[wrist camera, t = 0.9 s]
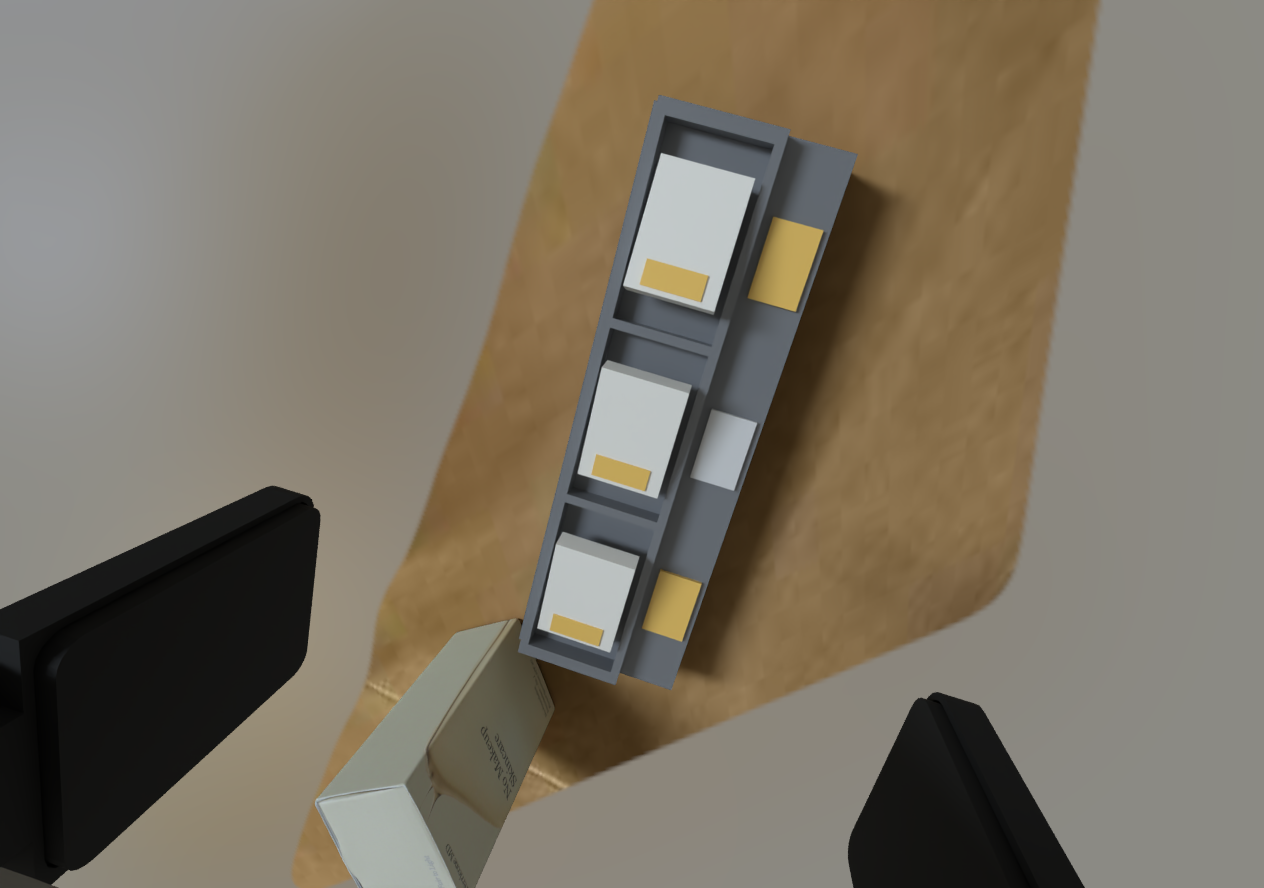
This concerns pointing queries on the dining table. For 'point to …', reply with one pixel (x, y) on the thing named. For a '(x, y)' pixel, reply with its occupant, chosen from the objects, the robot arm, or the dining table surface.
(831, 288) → the dining table surface
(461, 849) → the skincare box
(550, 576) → the block
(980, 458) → the dining table surface
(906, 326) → the dining table surface
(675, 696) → the dining table surface
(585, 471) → the block
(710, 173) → the plate
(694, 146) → the switch unit
